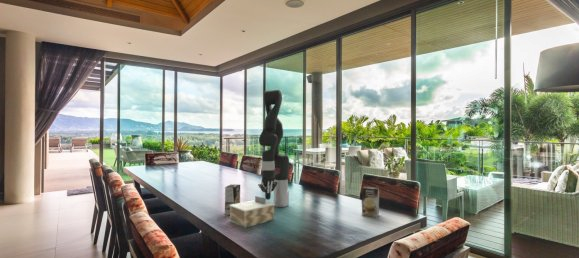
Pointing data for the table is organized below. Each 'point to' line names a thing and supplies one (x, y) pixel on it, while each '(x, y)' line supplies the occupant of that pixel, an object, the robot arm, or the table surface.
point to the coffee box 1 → (231, 196)
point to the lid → (252, 204)
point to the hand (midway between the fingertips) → (267, 199)
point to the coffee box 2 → (370, 201)
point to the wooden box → (251, 216)
